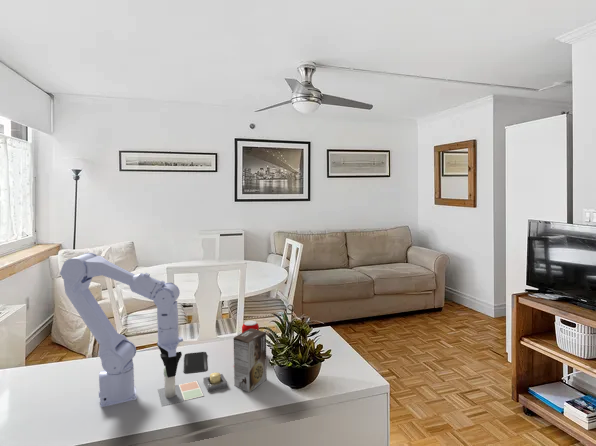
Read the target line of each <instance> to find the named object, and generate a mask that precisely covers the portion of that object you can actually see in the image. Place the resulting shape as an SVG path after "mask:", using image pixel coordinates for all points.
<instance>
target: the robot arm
mask: <svg viewBox="0 0 596 446" xmlns="http://www.w3.org/2000/svg"><path fill="white" fill-rule="evenodd" d="M59 275H60V277H62V279H63V287H64V292H65V295H66V296H67V298H68V299H69V301H70V302H71V304H72V306H73V307H74V309H75V310H76V311H77V313H78V314H79V316H80V317H81V319H82V321H83V322H84V324H85V325H86V327H87V328H88V330H89V331H90V333H91V334H92V336H93V337H94V339H95V341H96V342H97V344H98V345H99V346H98V356H99V358H100V361H101V366H102V369H103V370H101V371H99V373H98V385H99V391H98V398H99V403H100V406H99V407H100V408H104V407H108V406H113V405H114V406H115V405H118V404H122V403H125V402H131V401H135V400H137V399H138V396H137V388H136V386H135V374H134V373H135V371H134V370H135V369H134V368H135V367H134V362H133V358H135V356H136V353H137V347H136V345H135V344H134V343H133V341H130V340H129V339H128V338H127V337H126V336H125V335H124V334H122V333H118V331H117V330H116V328H115V327H114V325H113V324H112V323H111V320H110V319H109V318H108V316H107V315H106V314H105V312H104V310H103V309H102V307H101V306H100V303H98V301H97V299H96V298H95V296H94V295H93V293H92V291H91V290H90V285H91V282H92V280H93V278H95V277H99V276H102V277H106V278H109V279H111V280H114V281H116V282H118V283H122V284H124V285H127V286H129V288H130V291H131V292H133V293H135V294H137V295H138V296H142V297H144V298H146V299H148V300H150V301H153V303H154V305H155V306H156V307H157V308H156V309H157V310H156V311H157V312H156V316H157V317H156V319H157V322H156V324H157V342H156V346H157V347H158V350H159V351H160V354H159V355H160V359H161V361H162V363H163V366H164V368H166V373H167V376H168V378H169V377H173V376H175V377H176V374H177V370H178V365H179V363H180V362H179V361H180V360H181V358H182V356H183V355H182V354H183V352H182V351H177V348H178V346H179V344H180V343H182V342H183V341H184V339H183V337H182V336H180V335H179V334H180V333H179V309H178V301H177V300H178V299H179V296H180V295H181V294H180V288H179V287H178V286H177V285H176V284H175V283H173V282H169V281H168V282H165V280H159V279H156V278H154V277H152V276H150V273H148V272H145V273H143V272H140V273H137V274H135V273H133V272H130V271H129V270H127V269H125V268H123V267H121V266H120V265H117V264H115V263H113V262H111V261H110V260H107V259H106V258H105V257H103V256H102V255H97V254H96V253H94V252H84V253H83V254H81V255H78V256H76V257H71V258H68V259H66V260H64V263H63V264H62V266H61V269H60V272H59Z"/></svg>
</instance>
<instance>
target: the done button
mask: <svg viewBox="0 0 596 446" xmlns="http://www.w3.org/2000/svg"><path fill="white" fill-rule="evenodd" d="M220 374H221V373H220V372H212V373H210V374H209V377H210V385H211V384H216V383H220V382H221V379H220Z"/></svg>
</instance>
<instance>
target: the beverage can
mask: <svg viewBox="0 0 596 446" xmlns="http://www.w3.org/2000/svg"><path fill="white" fill-rule="evenodd" d="M250 328H252V329H257V330H260V326H259V324H258V322H257V321H256V320H246V321H244V322H243V324H242V326H241V333H243V332H245V331H247V330H248V329H250ZM258 328H259V329H258Z"/></svg>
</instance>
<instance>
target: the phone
mask: <svg viewBox="0 0 596 446" xmlns="http://www.w3.org/2000/svg"><path fill="white" fill-rule="evenodd" d="M183 356H184V357H183V374H185V375H186V374H195V373H202V372H203V373H204V372H207V371H208V355H207V352H206V351H199V352H198V351H197V352H191V353H190V352H189V353H185V354H184V355H183Z"/></svg>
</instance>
